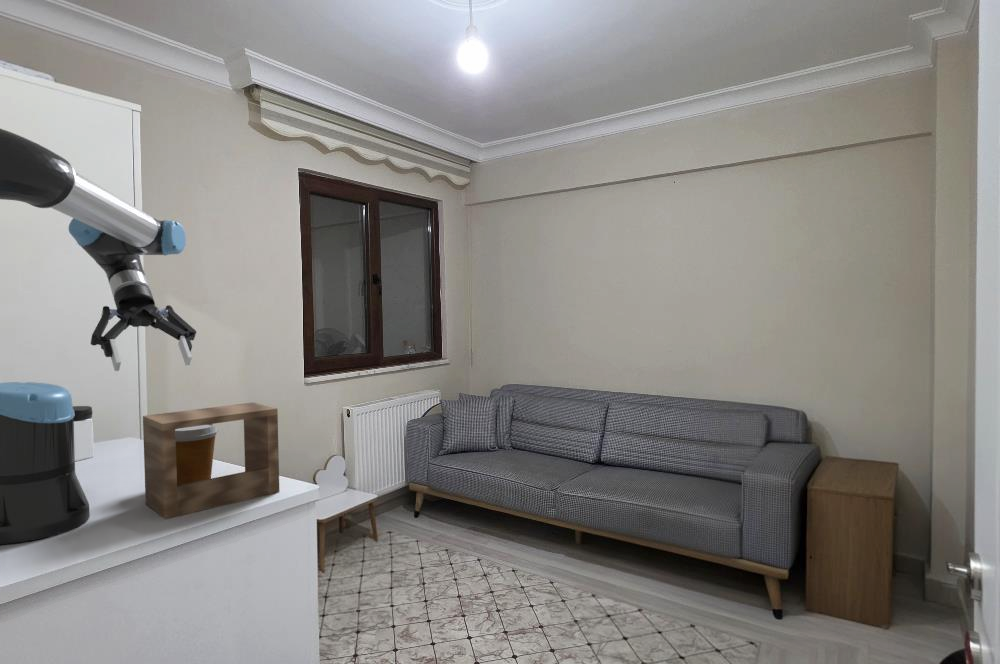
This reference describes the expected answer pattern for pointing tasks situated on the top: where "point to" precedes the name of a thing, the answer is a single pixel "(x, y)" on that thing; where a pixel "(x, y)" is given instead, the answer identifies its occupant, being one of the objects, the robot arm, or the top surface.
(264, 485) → the walnut shelf
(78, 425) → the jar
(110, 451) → the top surface
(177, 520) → the top surface
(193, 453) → the disposable coffee cup
